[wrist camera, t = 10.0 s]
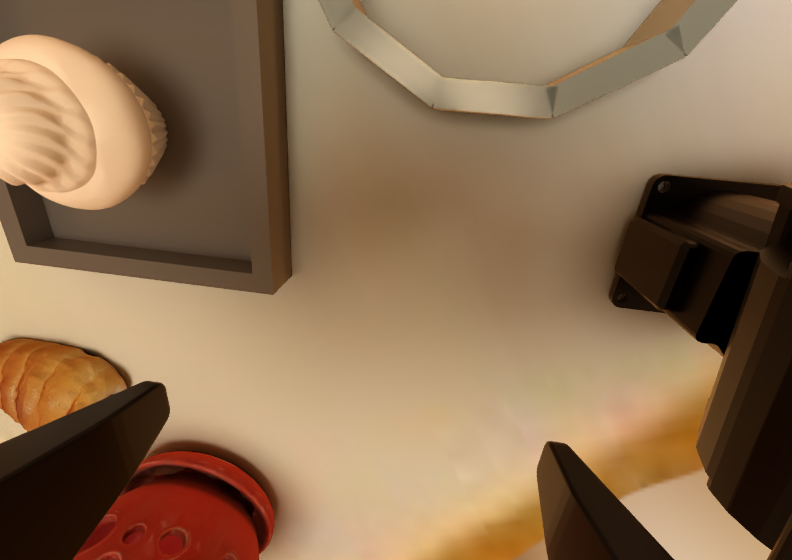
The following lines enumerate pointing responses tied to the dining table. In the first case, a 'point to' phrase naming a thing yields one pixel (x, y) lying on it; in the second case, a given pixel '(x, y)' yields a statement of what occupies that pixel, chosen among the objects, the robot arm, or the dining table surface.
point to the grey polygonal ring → (643, 54)
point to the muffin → (74, 125)
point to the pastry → (51, 381)
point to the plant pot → (184, 513)
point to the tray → (175, 145)
